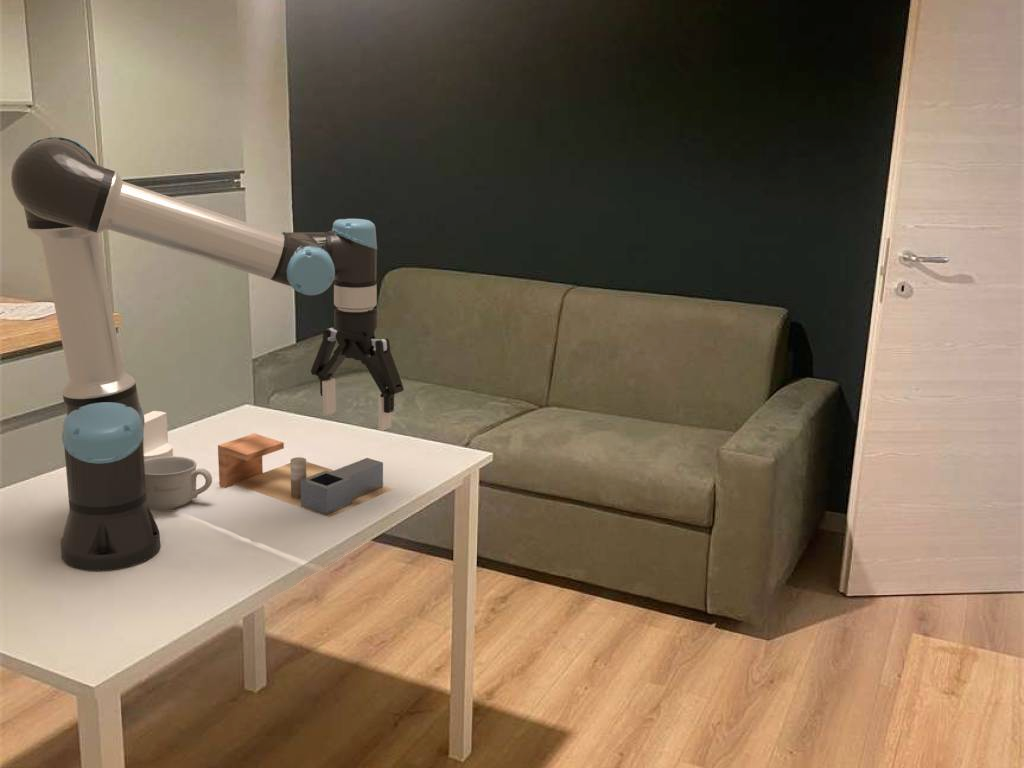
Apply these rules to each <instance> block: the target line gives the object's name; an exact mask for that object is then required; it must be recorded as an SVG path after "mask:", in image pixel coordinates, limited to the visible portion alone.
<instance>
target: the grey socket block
mask: <svg viewBox="0 0 1024 768" xmlns="http://www.w3.org/2000/svg"><path fill="white" fill-rule="evenodd" d="M333 470H334V469H333ZM383 486H384V462H383V461H380V460H375V459H372V458H369V457H366V458H363V459H360V460H358V461H356V462H352V463H350V464H348V465H345V466H342V467H340V468H338V469H335V470H334V471H332V472H330V471H323V472H321V473H318V474H315V475H313V476H310V477H308V478H305V479H302V480H301V506H302V507H305V508H308V509H311V510H313V511H316V512H319V513H322V514H325V515H329V514H331V513H334V512H336V511H338V510H340V509H343V508H345V507H347V506H350V505H352V500H355V499H357V498H359V497H362V496H364V495H366V494H369V493H371V492H373V491H376V490H378V489H380V488H383ZM313 511H312V512H313ZM316 512H315V513H316Z"/></svg>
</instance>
